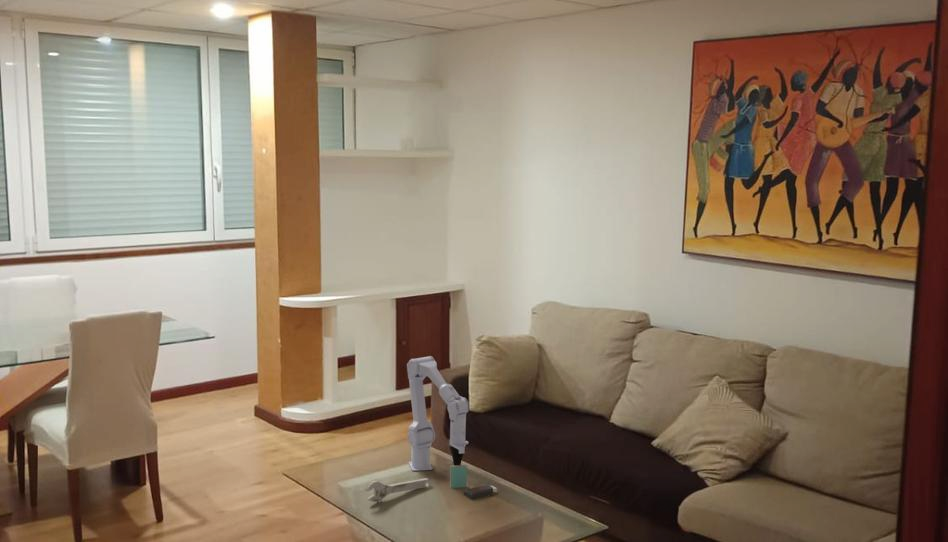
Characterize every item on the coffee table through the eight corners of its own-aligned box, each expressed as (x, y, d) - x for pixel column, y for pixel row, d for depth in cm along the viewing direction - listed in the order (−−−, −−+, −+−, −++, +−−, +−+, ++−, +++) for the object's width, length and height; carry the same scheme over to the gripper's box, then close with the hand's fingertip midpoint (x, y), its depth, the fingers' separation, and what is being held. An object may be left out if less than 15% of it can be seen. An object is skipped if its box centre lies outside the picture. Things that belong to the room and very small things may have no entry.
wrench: (429, 493, 303) (366, 506, 282) (426, 492, 305) (363, 504, 283) (432, 472, 303) (369, 483, 281) (428, 471, 304) (365, 481, 283)
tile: (449, 486, 303) (450, 465, 302) (465, 485, 305) (465, 464, 304) (450, 487, 302) (451, 467, 301) (466, 486, 303) (466, 466, 302)
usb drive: (463, 496, 295) (463, 488, 295) (489, 489, 302) (490, 482, 302) (471, 501, 291) (472, 493, 291) (498, 494, 298) (498, 487, 298)
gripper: (473, 436, 297) (472, 472, 299) (463, 424, 311) (462, 458, 313) (454, 437, 296) (453, 473, 297) (445, 425, 310) (444, 459, 311)
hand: (456, 465), depth 305 cm, fingers closed
